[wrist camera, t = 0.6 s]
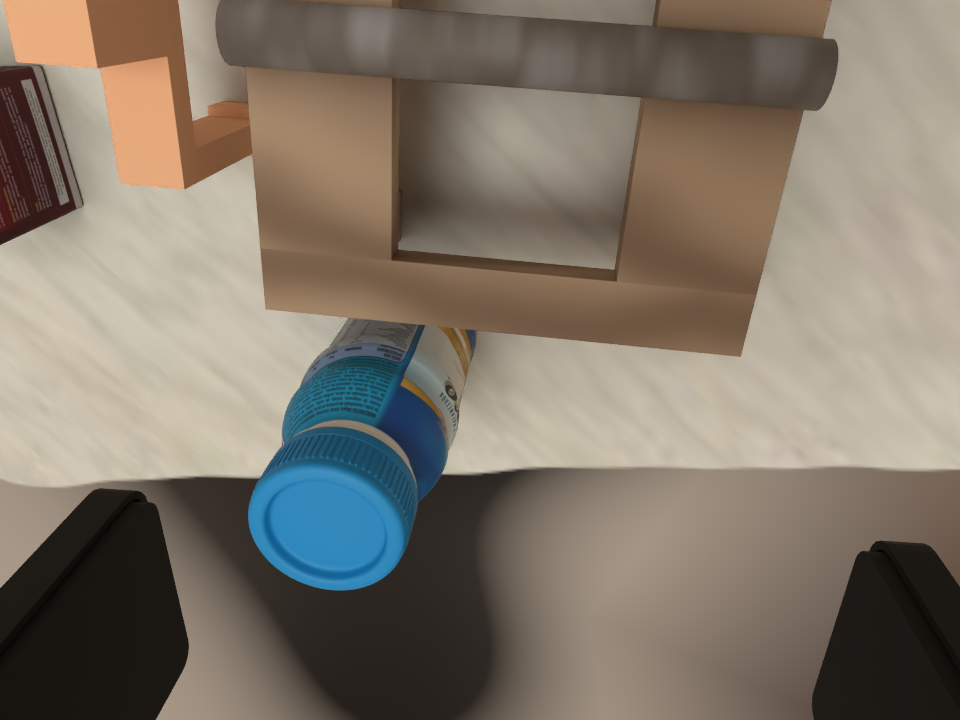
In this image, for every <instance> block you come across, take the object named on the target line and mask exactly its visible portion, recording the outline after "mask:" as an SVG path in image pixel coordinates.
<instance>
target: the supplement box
mask: <svg viewBox="0 0 960 720" xmlns="http://www.w3.org/2000/svg"><path fill="white" fill-rule="evenodd" d="M82 205H83V204H82V201H81V197H80V194H79V191H78V187H77V184H76V181H75V178H74V174H73V171H72V168H71V164H70V161H69V158H68V154H67V151H66V148H65V144H64V141H63V138H62V134H61V131H60V128H59V125H58V121H57V118H56V114H55V111H54V108H53V104H52V101H51V98H50V94H49V91H48V88H47V85H46V82H45V78H44V75H43V71H42V69H41V67H40V66H38V65H25V66H3V67H0V245H1V244H3V243H5V242H7V241H10V240H12V239H14V238H16V237H18V236H20V235H22V234H25V233H27V232H29V231H31V230H33V229H35V228H37V227H40V226H42V225H44V224H46V223H48V222H50V221H52V220H55V219H57V218H59V217H61V216H64V215H66V214H68V213H70V212H71V211H73V210H76V209H78V208H80V207H81V206H82Z"/></svg>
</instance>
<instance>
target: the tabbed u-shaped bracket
mask: <svg viewBox="0 0 960 720" xmlns="http://www.w3.org/2000/svg"><path fill="white" fill-rule="evenodd" d="M3 4H4V9H5V13H6V18H7V23H8V27H9V32H10V36H11V41H12V45H13V50H14V54H15V59H16V62H23V63H36V64H48V65H61V66H74V67H87V68H100V69H101V75H102V81H103V87H104V92H105V98H106V104H107V110H108V116H109V122H110V128H111V133H112V139H113V145H114V151H115V157H116V163H117V169H118V174H119V180H120V184H131V185H142V186H153V187H164V188H175V189H186V188H188V187H190V186H192V185H194V184H196V183H197V182H199V181H201V180H203V179H205V178H207V177H209V176H211V175H213V174H215V173H216V172H218V171H220V170H222V169H224V168H226V167H228V166H230V165H232V164H234V163H235V162H237V161H239V160H241V159H243V158H245V157H247V156H253V153H252V141H251V129H250V117H249V105H248V103H237V102H224V101H223V102H220V103H217V104H213V105H210V106H208V114H209V116H207V117H204V118H201V119H198V120H196V121H193V122H192V114H191V105H190V97H189V89H188V80H187V72H186V63H185V55H184V47H183V38H182V30H181V22H180V13H179V5H178V0H3Z"/></svg>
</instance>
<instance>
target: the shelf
mask: <svg viewBox="0 0 960 720" xmlns="http://www.w3.org/2000/svg"><path fill="white" fill-rule="evenodd" d="M831 1H832V0H656V6H655V13H654V19H653V26H641V25H627V24H613V23H598V22H584V21H570V20H556V19H542V18H528V17H514V16H500V15H486V14H471V13H457V12H443V11H429V10H415V9H401V8H400V0H220V2H219V5H218V8H217V13H216V37H217V43H218V47H219V50H220V53H221V55H222V57H223V59H224V61H225V62H226V63H227V64H228V65H231V66H243V67H245V70H246V82H247V94H248V105H249V117H250V129H251V141H252V153H253V165H254V177H255V189H256V201H257V212H258V224H259V236H260V248H261V260H262V272H263V284H264V296H265V308H266V309H268V310H278V311H288V312H298V313H308V314H318V315H328V316H338V317H348V318H358V319H369V320H379V321H389V322H399V323H409V324H419V325H429V326H439V327H449V328H459V329H469V330H479V331H489V332H499V333H509V334H519V335H529V336H539V337H549V338H559V339H569V340H579V341H589V342H599V343H609V344H619V345H629V346H639V347H649V348H659V349H669V350H679V351H689V352H699V353H709V354H719V355H729V356H739V357H741V353H742V349H743V345H744V341H745V337H746V333H747V330H748V326H749V322H750V318H751V314H752V310H753V306H754V302H755V298H756V294H757V290H758V287H759V283H760V279H761V275H762V271H763V267H764V263H765V259H766V255H767V251H768V247H769V244H770V240H771V236H772V232H773V228H774V224H775V220H776V216H777V212H778V208H779V204H780V201H781V197H782V193H783V189H784V185H785V181H786V177H787V173H788V169H789V165H790V161H791V158H792V154H793V150H794V146H795V142H796V138H797V134H798V130H799V126H800V122H801V118H802V115H803V111H804V110H812V111H817V110H819V109H820V108H821V107H822V106H823V105H824V103H825V102H826V100H827V98H828V96H829V94H830V91H831V89H832V86H833V83H834V79H835V75H836V70H837V64H838V46H837V43H836V41H835V40H834V39H824V38H822V36H823V33H824V29H825V25H826V21H827V17H828V13H829V9H830V5H831ZM400 79H411V80H424V81H437V82H450V83H463V84H476V85H489V86H502V87H515V88H528V89H541V90H554V91H567V92H580V93H593V94H605V95H618V96H631V97H641V103H640V109H639V116H638V122H637V129H636V135H635V142H634V148H633V154H632V161H631V167H630V174H629V180H628V187H627V193H626V200H625V206H624V212H623V219H622V225H621V232H620V238H619V245H618V251H617V258H616V264H615V270H609V269H598V268H588V267H577V266H566V265H555V264H545V263H534V262H523V261H512V260H502V259H491V258H480V257H469V256H459V255H448V254H437V253H427V252H416V251H405V250H398V242H399V241H400V239H401V190H399V93H400Z"/></svg>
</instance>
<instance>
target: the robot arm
mask: <svg viewBox="0 0 960 720" xmlns="http://www.w3.org/2000/svg"><path fill="white" fill-rule="evenodd" d="M188 650H189V643H188V637H187V633H186V629H185V624H184V620H183V616H182V611H181V607H180V603H179V598H178V594H177V590H176V586H175V581H174V577H173V573H172V568H171V564H170V560H169V555H168V551H167V547H166V543H165V538H164V534H163V529H162V525H161V521H160V517H159V512H158V509H157V507H156V505H155V504H154V503H150V502H147V499H146V496H145V495H144V494H143V493H142V492H139V491H132V490H117V489H101V488H100V489H96V490H94V491H92V492H91V493H90V494H89V495H88V496H87V497H86V498H85V499H84V500H83V501H82V502H81V503H80V504H79V505H78V506H77V507H76V508H75V509H74V510H73V512H72V513H71V514H70V515H69V516H68V517H67V518H66V519H65V520H64V521H63V522H62V523H61V524H60V525H59V527H57V529H56V530H55V531H54V532H53V533H52V534H51V535H50V536H49V537H48V538H47V539H46V540H45V541H44V542H43V543H42V545H41V546H40V547H39V548H38V549H37V550H36V551H35V552H34V553H33V554H32V555H31V556H30V557H29V558H28V559H27V561H26V562H25V563H24V564H23V565H22V566H21V567H20V568H19V569H18V570H17V571H16V572H15V573H14V575H12V577H11V578H10V579H9V580H8V581H7V582H6V583H5V584H4V585H3V586H2V587H1V588H0V720H156V718H157V716H158V715H159V713H160V711H161V709H162V707H163V705H164V703H165V702H166V700H167V698H168V697H169V695H170V693H171V691H172V689H173V687H174V686H175V684H176V682H177V680H178V678H179V677H180V675H181V673H182V671H183V669H184V667H185V664H186V660H187V657H188ZM812 711H813V717H814V720H960V587H959V585H958V584H957V582H956V581H955V579H954V578H953V576H952V575H951V574H950V572H949V571H948V569H947V568H946V566H945V565H944V564H943V562H942V561H941V559H940V558H939V556H938V555H937V554H936V552H935V551H934V550H933V549H932V548H931V547H930V546H928V545H926V544H922V543H907V542H892V541H877V542H875V543H874V544H873V545H872V547H871V549H870V551H868V552H867V551H862V552H860V553H859V554H858V555H857V557H856V559H855V562H854V566H853V569H852V572H851V575H850V578H849V581H848V585H847V588H846V591H845V594H844V597H843V600H842V604H841V607H840V610H839V613H838V616H837V619H836V622H835V625H834V629H833V632H832V635H831V638H830V641H829V645H828V648H827V651H826V654H825V657H824V660H823V664H822V667H821V670H820V673H819V676H818V679H817V682H816V686H815V689H814V692H813V697H812Z"/></svg>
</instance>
